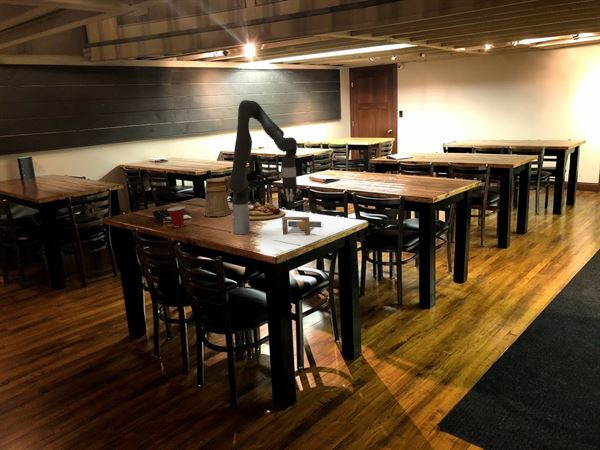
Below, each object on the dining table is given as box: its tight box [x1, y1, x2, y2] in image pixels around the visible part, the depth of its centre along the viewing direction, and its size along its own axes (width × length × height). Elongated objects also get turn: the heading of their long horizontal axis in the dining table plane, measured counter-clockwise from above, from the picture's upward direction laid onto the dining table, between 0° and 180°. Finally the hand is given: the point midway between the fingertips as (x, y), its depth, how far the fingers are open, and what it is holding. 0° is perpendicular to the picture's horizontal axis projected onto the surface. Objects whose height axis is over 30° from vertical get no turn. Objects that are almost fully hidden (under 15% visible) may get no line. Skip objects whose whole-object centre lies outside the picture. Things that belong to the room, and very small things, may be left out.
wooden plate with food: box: [249, 201, 286, 222], centre depth 332 cm, size 32×32×8 cm
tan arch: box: [281, 216, 311, 236], centre depth 279 cm, size 3×15×10 cm, turn 74°
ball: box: [298, 220, 305, 230], centre depth 288 cm, size 6×6×6 cm
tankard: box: [203, 175, 232, 217], centre depth 342 cm, size 18×24×25 cm
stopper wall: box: [287, 220, 322, 228], centre depth 297 cm, size 20×2×3 cm, turn 74°
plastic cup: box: [167, 206, 185, 227], centre depth 312 cm, size 11×11×12 cm
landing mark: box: [288, 227, 315, 234], centre depth 289 cm, size 13×13×1 cm
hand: (290, 207), depth 269 cm, fingers closed
